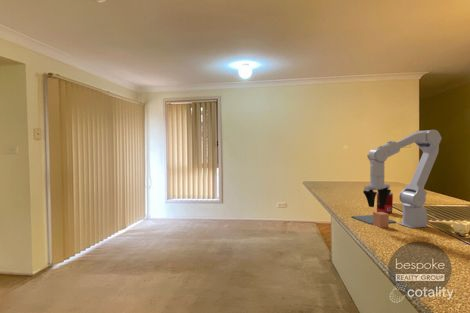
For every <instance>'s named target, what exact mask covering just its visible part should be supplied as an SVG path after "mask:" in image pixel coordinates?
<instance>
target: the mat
mask: <svg viewBox="0 0 470 313" xmlns="http://www.w3.org/2000/svg"><path fill="white" fill-rule="evenodd" d="M351 219H355V220H357V221H360V222H362V223H365V224H367V225H370V224H371V225H373V214H366V215H353V216H351ZM395 223H397V221H396V220H392V219H390V218H389V224H395Z"/></svg>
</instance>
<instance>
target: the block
mask: <svg viewBox="0 0 470 313" xmlns="http://www.w3.org/2000/svg"><path fill="white" fill-rule="evenodd" d="M372 215H373V224H372V226H373V225H374V227H376V226H377V228H380V229H381V228H382V229H383V228H384V227H385V228H389V225H390V223H389V219H390V218H389V216H390V214H387V213H384V212H377V211H372Z"/></svg>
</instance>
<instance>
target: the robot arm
mask: <svg viewBox="0 0 470 313" xmlns="http://www.w3.org/2000/svg"><path fill="white" fill-rule="evenodd" d="M442 138H443V137H442V136H441V133H440V132H439V131H438V129H437V130H436V129H430V130H429V129H428V130H427V129H426V130H417V131H413V132H412V133H410V134H408V135H407V136H405V137H403V138H401V139H400V140H397V141H396V140H388V141H386V143H385V144H382V145H378V147H377V148H371V149H370V151H369V152H368V153H367V160H369V164H370V169H369V171H370V172H369V175H370V176H369V184H368V185H365V186H363V189H364V190H363V191H362V192H363V194H364V196H365V198H366V201H367V204H368V207H369V208H374V207H375V202H376V201H375V200H376V197H377V192H378V194H379V201H380V205H384V206H385V204H386V200H387V197H388V195H389V194H390V192H392V190H391V189H390V186H391V185H390V184H387V183H385V162H387V159H388V158H389V157H392V156H394V155H396V154H398V153H399V152H400V151H401V149H403V148H405V147H407V146H411V145H412V144H413V143H415V144H416V145H417V146H418V148H419V149H420V150H421V152H422V155H421V157H420V160H419V161H418V164H417V166H416V169H415V171H414V173H413V176H412V179H411V181H410V183H409V184H407V185H406V186H404V188H403V190H401V192H399V196H398V199H399V201H400V202H401V205H402V221H401V222H397V224H398V225H401V226H404V227H407V228H409V229H412V228H413V229H415V228H416V229H417V228H427V227H429V225H428V212H427V208H426V207H425V206H424V205H425V204H426V197H427V191H426V189H425V188H424V187H425V186H426V183H427V181H428V178H429V176H430V173H431V171H432V169H433V166H434V164H435V162H436V159H437V156H438V154H439V150H440V146H439V145H440V144H441V142H442Z"/></svg>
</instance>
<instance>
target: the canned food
mask: <svg viewBox="0 0 470 313" xmlns="http://www.w3.org/2000/svg"><path fill="white" fill-rule="evenodd" d="M376 192H377V194H376V212H384V213H387V214H389V215H391V214H392V213H393V205H394V204H393V201H394V198H393V197H394V194H393V192H392V191H391V192H390V194H389V195H388V197H387V200H386V204H385V206H384V205H380V201H379V194H378V191H376Z"/></svg>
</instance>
